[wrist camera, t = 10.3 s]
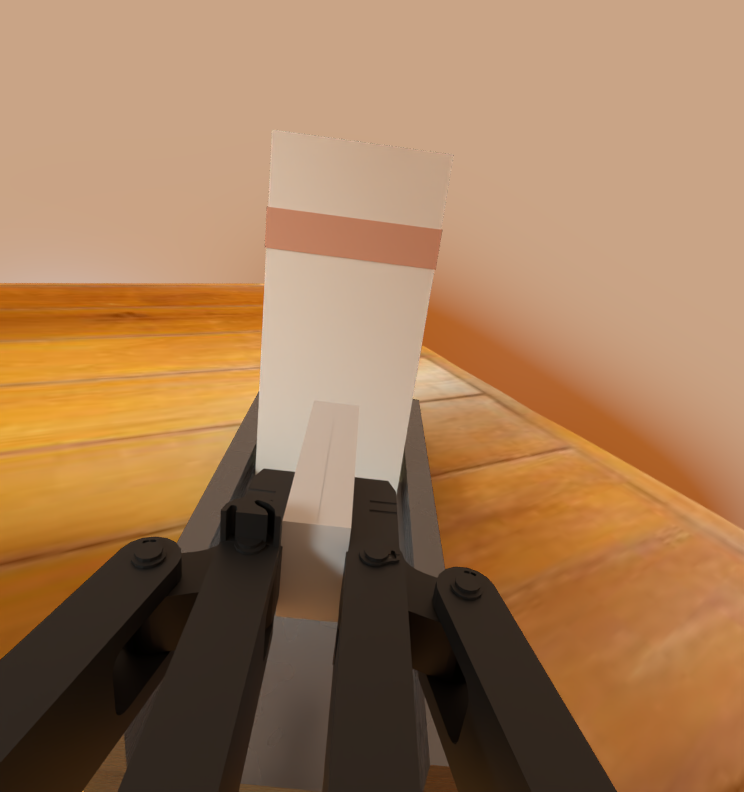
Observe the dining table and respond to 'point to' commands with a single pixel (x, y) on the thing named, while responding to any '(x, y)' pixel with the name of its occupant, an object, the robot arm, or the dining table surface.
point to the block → (346, 291)
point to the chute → (305, 639)
